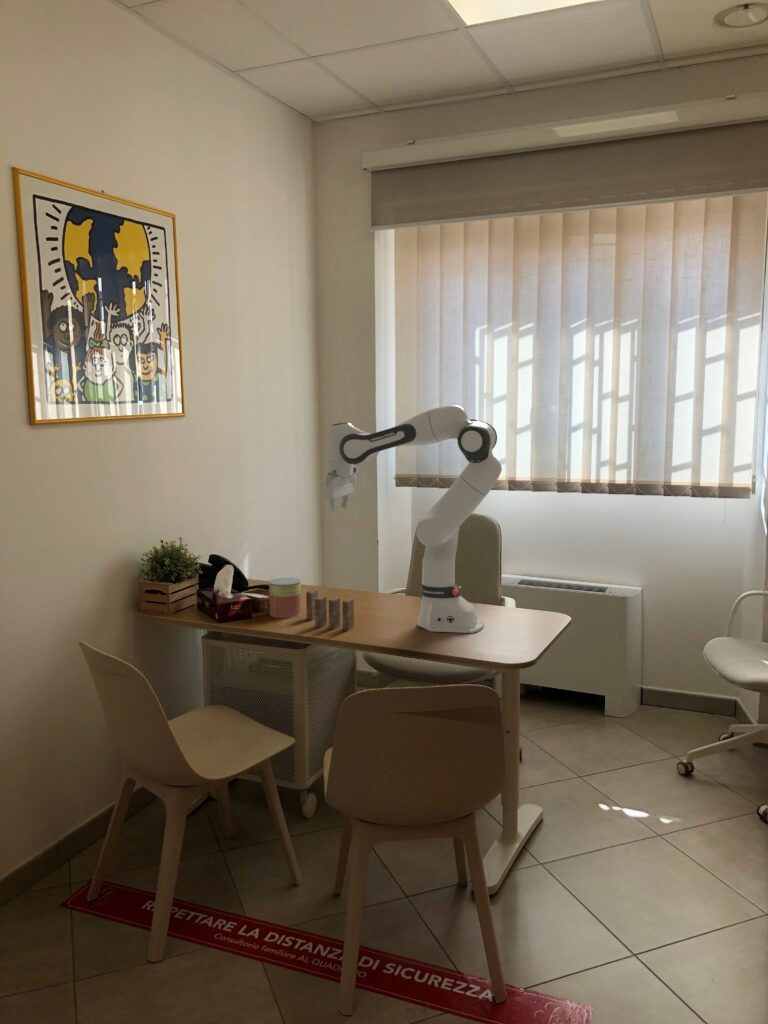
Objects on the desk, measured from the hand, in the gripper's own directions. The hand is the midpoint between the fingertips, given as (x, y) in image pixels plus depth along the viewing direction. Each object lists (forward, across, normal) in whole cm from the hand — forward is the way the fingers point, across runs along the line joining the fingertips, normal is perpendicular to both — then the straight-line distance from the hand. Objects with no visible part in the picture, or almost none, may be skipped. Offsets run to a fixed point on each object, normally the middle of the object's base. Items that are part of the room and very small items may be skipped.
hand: (339, 509), depth 298 cm
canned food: (+39, -2, +20) cm, 44 cm away
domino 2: (+39, -13, +1) cm, 41 cm away
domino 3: (+38, -13, -4) cm, 41 cm away
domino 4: (+38, -13, -9) cm, 41 cm away
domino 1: (+39, -5, +8) cm, 40 cm away
